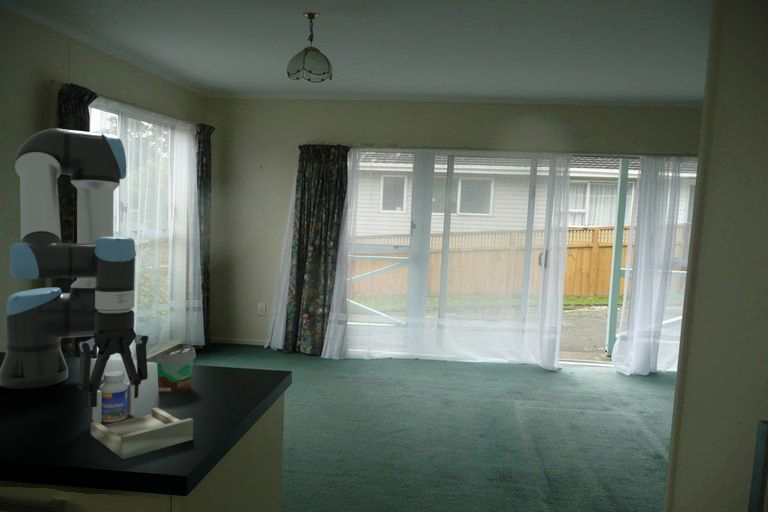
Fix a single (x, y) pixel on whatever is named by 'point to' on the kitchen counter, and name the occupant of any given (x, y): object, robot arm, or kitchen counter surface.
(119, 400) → the pill bottle
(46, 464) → the kitchen counter surface
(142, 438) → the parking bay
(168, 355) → the food container
